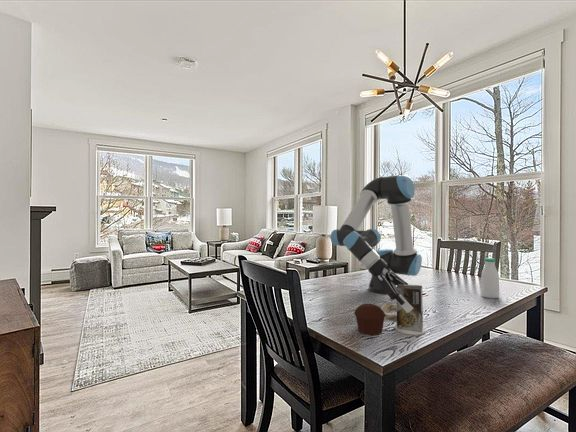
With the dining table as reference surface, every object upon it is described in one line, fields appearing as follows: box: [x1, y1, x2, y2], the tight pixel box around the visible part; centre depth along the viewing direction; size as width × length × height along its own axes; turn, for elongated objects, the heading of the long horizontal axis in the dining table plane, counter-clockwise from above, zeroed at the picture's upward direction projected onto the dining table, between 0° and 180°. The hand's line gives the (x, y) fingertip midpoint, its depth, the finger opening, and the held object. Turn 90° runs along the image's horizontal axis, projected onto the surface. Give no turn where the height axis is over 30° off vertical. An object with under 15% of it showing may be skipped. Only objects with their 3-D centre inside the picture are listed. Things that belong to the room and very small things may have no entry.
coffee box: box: [395, 284, 424, 332], centre depth 120 cm, size 9×6×16 cm
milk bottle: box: [480, 257, 500, 299], centre depth 162 cm, size 8×8×20 cm
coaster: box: [394, 323, 426, 336], centre depth 121 cm, size 11×11×1 cm
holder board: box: [380, 302, 397, 322], centre depth 137 cm, size 16×16×2 cm
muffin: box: [353, 303, 385, 337], centre depth 119 cm, size 12×11×10 cm
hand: (413, 305), depth 120 cm, fingers open, 13 cm apart
